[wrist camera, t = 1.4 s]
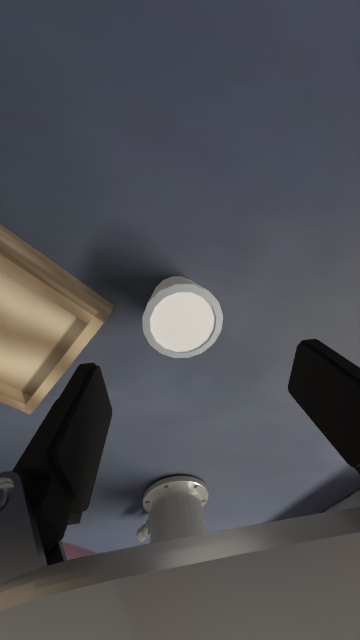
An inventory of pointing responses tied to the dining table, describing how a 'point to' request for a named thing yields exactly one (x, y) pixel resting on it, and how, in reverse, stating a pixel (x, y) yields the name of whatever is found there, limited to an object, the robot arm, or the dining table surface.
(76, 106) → the dining table surface
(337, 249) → the dining table surface
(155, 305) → the shot glass
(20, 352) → the birch tray
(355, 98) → the dining table surface
